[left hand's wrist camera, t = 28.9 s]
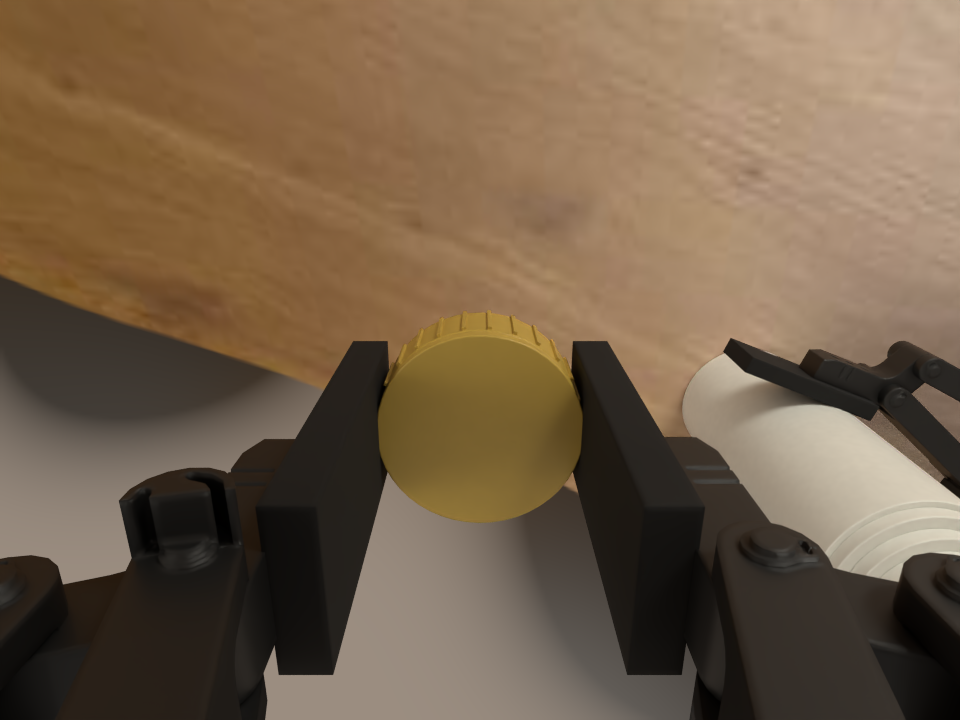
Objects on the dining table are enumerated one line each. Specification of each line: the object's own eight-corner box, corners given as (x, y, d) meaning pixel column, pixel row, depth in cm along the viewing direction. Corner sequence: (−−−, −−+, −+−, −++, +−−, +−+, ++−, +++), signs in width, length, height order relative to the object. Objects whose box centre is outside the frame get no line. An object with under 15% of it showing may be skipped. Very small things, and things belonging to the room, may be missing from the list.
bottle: (724, 474, 39) (964, 820, 20) (658, 398, 37) (851, 696, 18) (820, 407, 37) (1185, 711, 18) (757, 325, 35) (1085, 564, 16)
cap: (608, 433, 15) (623, 469, 13) (446, 512, 15) (442, 556, 14) (519, 273, 13) (524, 292, 12) (347, 367, 14) (331, 397, 12)
